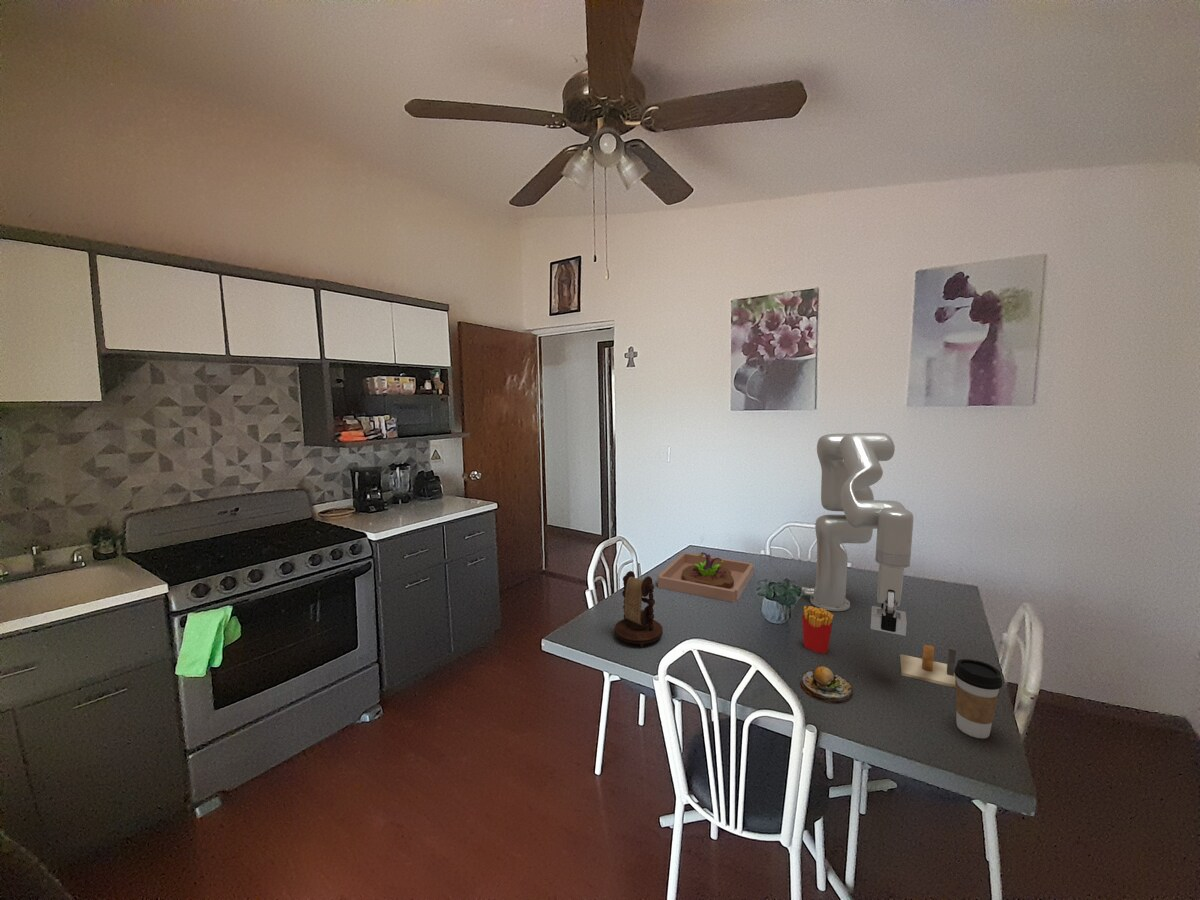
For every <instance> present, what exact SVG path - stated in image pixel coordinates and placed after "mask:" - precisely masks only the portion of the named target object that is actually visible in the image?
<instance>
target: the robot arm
mask: <svg viewBox="0 0 1200 900" xmlns="http://www.w3.org/2000/svg"><path fill="white" fill-rule="evenodd" d="M895 448H896V447H895V443H894V441H893V438H891V436H890V435H888V433H884V432H853V433H852V432H851V433H829V434H823V435H822V436H820V437H819V438H818V440H817V443H816V453H817V457H818V458H817V459H818V460H819V464H820V468H821V481H820V482H821V483H820V484H821V486H820V489H821V490H820V501H821V506H822V508H823V509H824V510H827V511H830V512H843V513H844V514H822V515H820V516H819V517H817V518H816V520H815V523H814V524H815V525H814V527H815V529H814V530H815V535H816V570H815V571H816V573H815V586H814V587H807V586H801V593H804V595H805V596H810V598H809V601H810V603H811V604H812V605H813V606H814V607H817V608H819V609H820V608H823V609H826V611H829V612H830V611H831V612H844V611H848V610H849V609H850V608H851V602H850V600H848V599H847V598H846V596H847V595H846V593H847V592H846V591H847V577H848V574H847V573H848V555H847V552H846V550H844V548H843V547H842V546H841V544H857V545H858V544H859V545H860V544H867V543H869V542H870V541H871V540H872V537H873V530H876V543H875V557H874V561H875V563H877V564H879V565H878V574H877V575H878V576H877V589H876V593H877V594H876V601H877V603H878V604H881V605H880V607H882V608H883V614H882V618H881V629H882V630H886V631H891V632H896V621H897V616H896V610H897V607H900V605H901V599H902V591H903V584H904V573H905V572H904V571H905V569H907V568H909V567H910V566H911V556H912V554H911V553H912V543H913V542H912V541H913V530H914V529H913V528H914V514H913V513H912V512H911V511H910V510H908V509H906V508H905V506H904V505H903V504H902V503H901V502H899V501H897V500H880V499H879V500H878V499H877V500H876V499H874V492H873V490H872V488H871V486H873V485H875V484H877V483H878V482H880V480H881V479H882V478H883V473H884V472H883V467H882V466H881V464H880V462H887V461H890V460H891V459H893V457H894V455H895Z"/></svg>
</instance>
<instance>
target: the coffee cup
mask: <svg viewBox="0 0 1200 900" xmlns="http://www.w3.org/2000/svg"><path fill="white" fill-rule="evenodd" d="M954 674H955V678H956V681H955V686H956V688H955V707H956V708H955V709H956V710H955V711H956V713H955V714H956V717H955V718H956V726H957V728H958V730H960V731H961V732H962V733H964V734H966V735H968V736H969V737H973V738H975V739H988V738H989V737H990V734H991V730H992V725H993V721H994V716H995V713H996V710H997V706H998V705H997V704H998V702H999V697H1000V689H1002V687H1003V679H1002V674H1001V671H1000V670H999V669H998V668H996V667H995V666H993V665H991V664H989V663H987V662H984V661H981V660H976V659H968V658H964V659H963V658H961V659H960V658H959V660H957V662H956V665H955V668H954Z"/></svg>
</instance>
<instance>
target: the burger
mask: <svg viewBox="0 0 1200 900" xmlns="http://www.w3.org/2000/svg"><path fill="white" fill-rule="evenodd" d="M800 685H801V687H802V690H803V691H804V692H805V693H807V694H808V695H809V696H810V697H811V698H813V699H814V700H815V699H816V700H818V701H821V702H824V703H828V704H844V703H846V702H848V701H850V700H852V699H853V693H854V692H853V691H854V690H853V686H852V685H851V683H850V682H849V681H848V680H847V679H846V678H844V677H843V676H841V675H840V674H837V673H834V672H832V670H831V669H830V668H828V667H826V666H823V665H822V666H821V665H819V667H817V668H815V669H811V670H808V671H804V672H803V674H801V680H800Z"/></svg>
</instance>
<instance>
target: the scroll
mask: <svg viewBox="0 0 1200 900" xmlns="http://www.w3.org/2000/svg"><path fill="white" fill-rule="evenodd" d="M622 581H623V590H622V592H621V593H622V596H623V598H624V600H623V605H622V609H623V619H621V620H619V621H617V623H615V625H614V634H615V637H616V638H618V639H619V640H621V641H622V642H626V643H628V644H633V645H634V644H635V645H639V646H640V648H644V645H645V644H650V643H654V642H655V641H658V640H660V639H661V637H662V636H663V633H664V631H663V626H662V624H661V623H660V622H659V621H657V620H656V619H654V618H655V614H654V612H655V611H654V605H655V604H656V601H655V599H654V589H655V585H654V584H653V578H652V577H651V576H648V575H647V576H645V577H644V579H641V578H637V577H636V574H635V573H634V571H633V570H629V571H628V572H627V573H626V574H625V575H624V576H623V577H622ZM642 602H643V603H644V604H647V605H646V606H645V607H644V609H642Z"/></svg>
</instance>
